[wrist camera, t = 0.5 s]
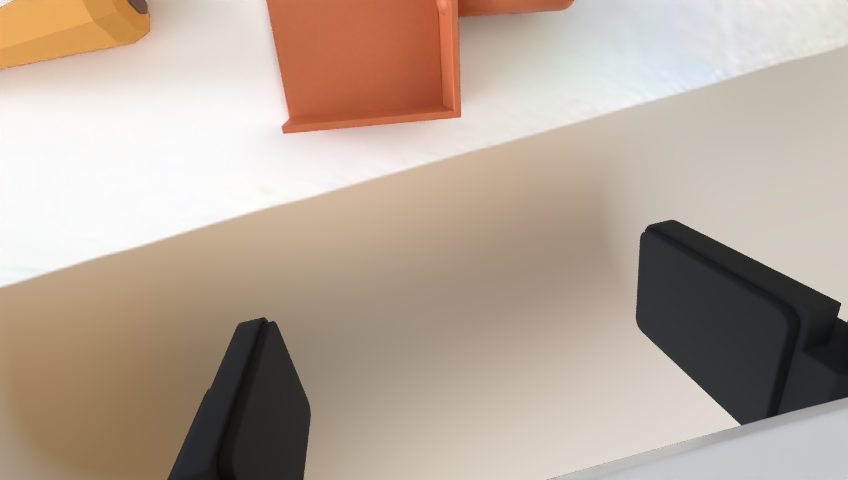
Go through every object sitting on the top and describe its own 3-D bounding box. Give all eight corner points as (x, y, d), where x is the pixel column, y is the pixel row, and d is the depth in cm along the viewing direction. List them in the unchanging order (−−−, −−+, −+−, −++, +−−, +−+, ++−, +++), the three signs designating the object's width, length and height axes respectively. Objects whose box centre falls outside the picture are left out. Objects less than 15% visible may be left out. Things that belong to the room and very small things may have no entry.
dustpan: (291, 124, 32) (282, 133, 28) (243, -121, 26) (223, -154, 22) (552, 100, 34) (578, 106, 30) (566, -128, 28) (602, -158, 24)
